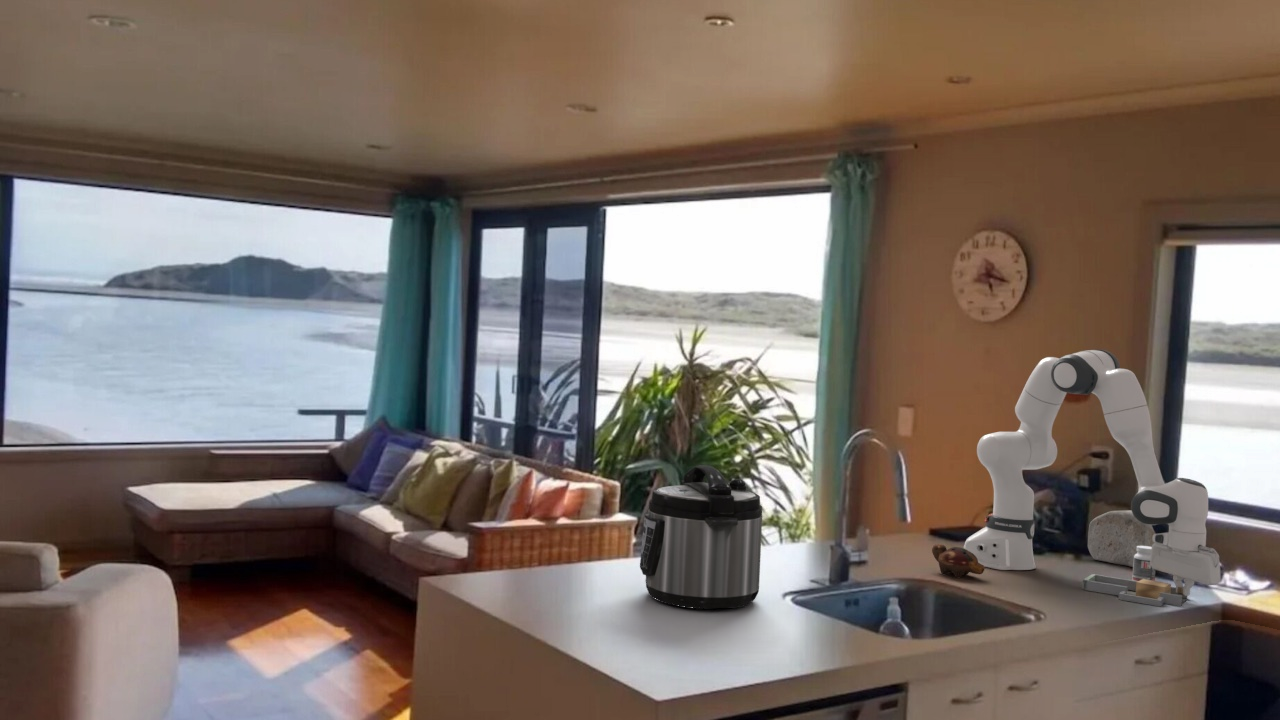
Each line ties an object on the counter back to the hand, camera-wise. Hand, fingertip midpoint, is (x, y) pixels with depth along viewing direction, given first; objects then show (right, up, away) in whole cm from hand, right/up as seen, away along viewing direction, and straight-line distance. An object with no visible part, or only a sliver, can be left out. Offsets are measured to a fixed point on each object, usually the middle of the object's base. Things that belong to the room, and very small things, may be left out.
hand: (1182, 594), depth 295 cm
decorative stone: (+5, -1, +47) cm, 48 cm away
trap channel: (-11, -1, +4) cm, 12 cm away
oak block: (-6, -2, +4) cm, 7 cm away
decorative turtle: (-54, +1, +18) cm, 57 cm away
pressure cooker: (-127, +4, -26) cm, 130 cm away
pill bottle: (-1, -1, +22) cm, 22 cm away
